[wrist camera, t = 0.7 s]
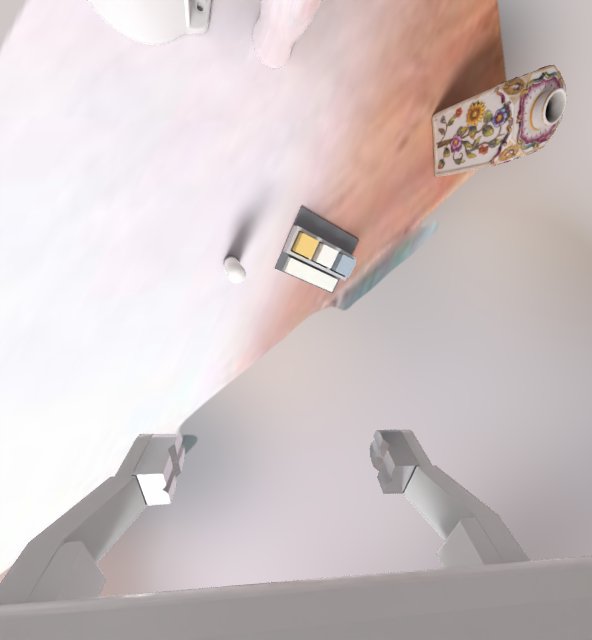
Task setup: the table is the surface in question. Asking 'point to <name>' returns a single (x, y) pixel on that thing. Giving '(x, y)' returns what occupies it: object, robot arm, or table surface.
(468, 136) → the decorative jar
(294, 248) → the key amber
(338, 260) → the key slate
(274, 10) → the beer glass
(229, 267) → the white rounded cylinder
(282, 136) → the table surface
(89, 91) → the table surface
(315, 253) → the key white
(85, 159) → the table surface
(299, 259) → the keypad
